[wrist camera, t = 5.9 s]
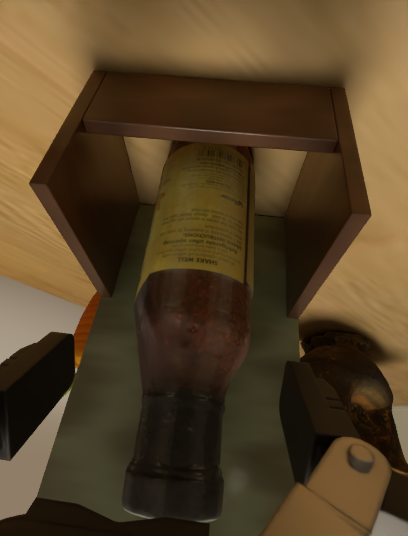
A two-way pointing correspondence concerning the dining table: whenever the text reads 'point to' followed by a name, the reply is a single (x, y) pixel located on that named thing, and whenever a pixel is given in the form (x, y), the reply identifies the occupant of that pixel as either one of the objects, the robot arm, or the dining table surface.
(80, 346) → the carrot
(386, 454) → the pottery vessel
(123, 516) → the bottle rack
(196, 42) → the dining table surface
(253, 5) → the dining table surface
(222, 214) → the sauce bottle
